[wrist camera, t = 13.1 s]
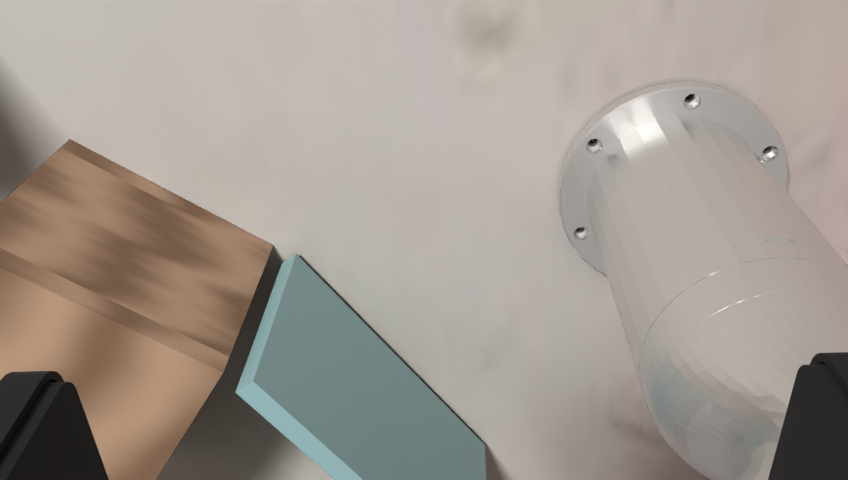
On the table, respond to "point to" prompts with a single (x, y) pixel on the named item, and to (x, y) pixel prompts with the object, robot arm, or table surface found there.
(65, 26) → the table surface
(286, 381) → the door
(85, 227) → the cabinet
